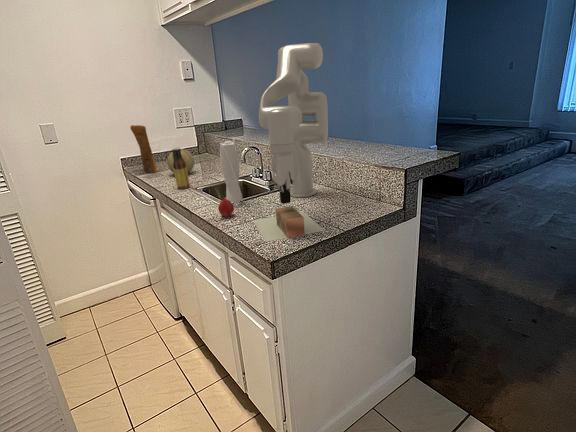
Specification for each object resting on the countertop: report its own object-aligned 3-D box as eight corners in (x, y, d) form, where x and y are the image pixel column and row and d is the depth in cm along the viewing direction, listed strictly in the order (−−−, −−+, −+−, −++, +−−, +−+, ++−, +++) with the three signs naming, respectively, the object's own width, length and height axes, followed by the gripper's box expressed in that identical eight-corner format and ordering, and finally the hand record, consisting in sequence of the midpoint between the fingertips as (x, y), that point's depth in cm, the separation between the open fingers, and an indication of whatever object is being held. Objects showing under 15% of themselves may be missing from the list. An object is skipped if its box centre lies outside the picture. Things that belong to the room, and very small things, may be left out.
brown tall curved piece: (149, 174, 212) (139, 126, 201) (138, 170, 226) (128, 124, 215) (160, 172, 215) (151, 125, 205) (149, 167, 229) (140, 123, 219)
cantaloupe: (197, 175, 204) (193, 148, 198) (170, 179, 199) (165, 152, 193) (193, 169, 217) (189, 145, 211) (168, 173, 212) (164, 148, 206)
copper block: (275, 208, 124) (286, 220, 114) (291, 206, 126) (303, 217, 115) (276, 224, 126) (287, 237, 116) (292, 221, 128) (304, 234, 117)
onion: (216, 217, 138) (213, 198, 135) (228, 213, 142) (226, 194, 139) (225, 221, 134) (222, 201, 131) (237, 216, 138) (235, 196, 135)
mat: (252, 221, 132) (252, 220, 132) (303, 212, 137) (303, 211, 137) (266, 243, 114) (266, 241, 114) (324, 231, 119) (324, 230, 119)
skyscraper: (248, 201, 155) (241, 136, 145) (237, 207, 149) (229, 139, 138) (233, 199, 159) (225, 135, 149) (221, 205, 153) (212, 138, 143)
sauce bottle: (183, 185, 185) (177, 146, 178) (192, 186, 182) (186, 147, 174) (174, 189, 180) (167, 149, 172) (183, 190, 176) (176, 150, 169)
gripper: (264, 146, 121) (269, 198, 127) (277, 154, 107) (281, 211, 114) (286, 144, 123) (289, 194, 129) (300, 151, 109) (303, 207, 116)
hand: (285, 202), depth 122 cm, fingers closed
